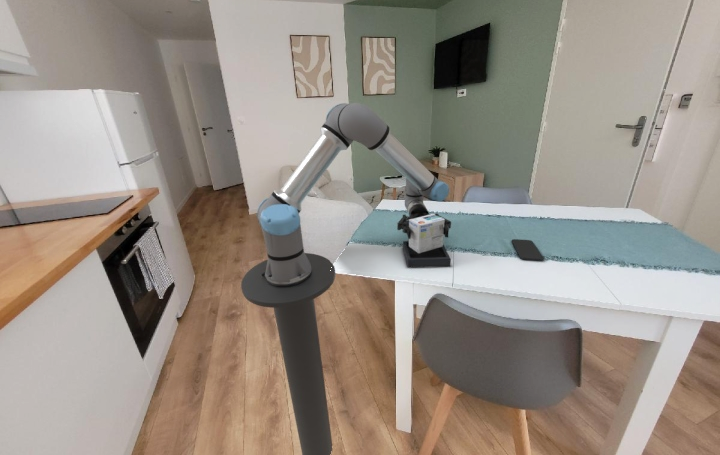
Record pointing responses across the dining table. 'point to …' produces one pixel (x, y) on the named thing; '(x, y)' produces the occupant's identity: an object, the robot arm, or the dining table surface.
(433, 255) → the pad
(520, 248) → the phone
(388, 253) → the dining table surface
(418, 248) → the light bulb box
